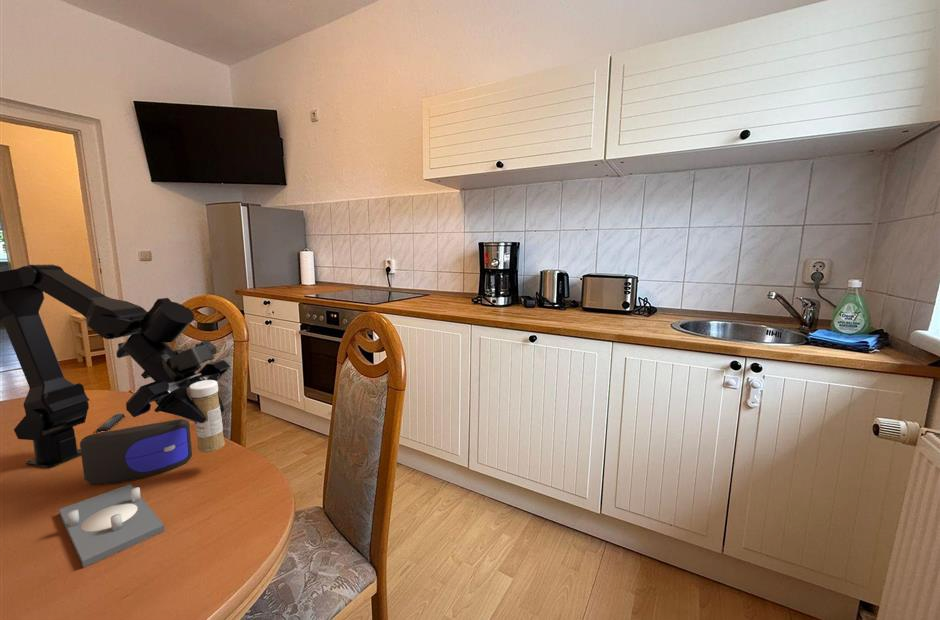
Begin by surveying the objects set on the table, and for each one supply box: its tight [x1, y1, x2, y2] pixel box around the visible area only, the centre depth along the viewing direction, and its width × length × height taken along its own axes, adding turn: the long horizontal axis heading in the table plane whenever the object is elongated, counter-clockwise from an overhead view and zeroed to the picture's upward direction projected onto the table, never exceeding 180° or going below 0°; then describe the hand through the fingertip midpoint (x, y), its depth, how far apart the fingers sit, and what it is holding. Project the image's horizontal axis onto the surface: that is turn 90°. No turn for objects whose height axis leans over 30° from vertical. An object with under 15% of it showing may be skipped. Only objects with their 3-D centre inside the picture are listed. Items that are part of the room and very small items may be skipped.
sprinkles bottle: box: [188, 380, 226, 454], centre depth 75 cm, size 5×5×14 cm
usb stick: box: [96, 413, 126, 433], centre depth 97 cm, size 10×3×2 cm, turn 23°
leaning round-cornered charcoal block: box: [79, 418, 193, 485], centre depth 74 cm, size 16×5×9 cm, turn 123°
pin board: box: [58, 483, 166, 569], centre depth 61 cm, size 18×9×3 cm, turn 54°
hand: (213, 416), depth 75 cm, fingers closed on sprinkles bottle, 4 cm apart
